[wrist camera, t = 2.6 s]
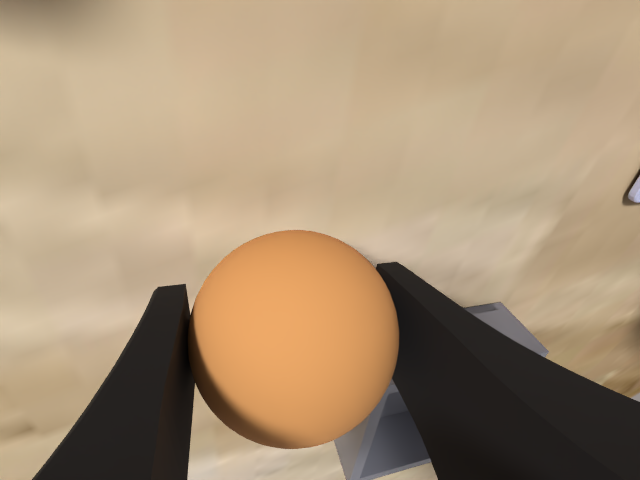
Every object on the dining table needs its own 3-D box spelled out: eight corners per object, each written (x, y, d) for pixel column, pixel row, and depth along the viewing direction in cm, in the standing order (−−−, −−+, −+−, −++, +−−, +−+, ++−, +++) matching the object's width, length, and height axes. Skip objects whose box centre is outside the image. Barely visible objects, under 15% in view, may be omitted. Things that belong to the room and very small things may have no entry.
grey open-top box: (501, 302, 20) (548, 351, 18) (452, 396, 25) (483, 446, 23) (349, 326, 18) (378, 388, 15) (329, 426, 23) (348, 486, 20)
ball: (367, 190, 10) (477, 320, 6) (344, 316, 13) (409, 461, 9) (178, 198, 9) (164, 373, 5) (197, 337, 11) (199, 519, 8)
